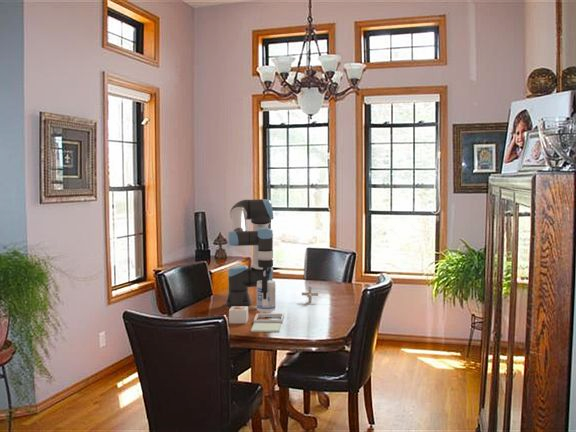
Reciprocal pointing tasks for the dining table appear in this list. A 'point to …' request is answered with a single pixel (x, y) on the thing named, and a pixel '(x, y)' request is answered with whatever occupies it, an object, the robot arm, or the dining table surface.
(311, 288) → the pipe connector
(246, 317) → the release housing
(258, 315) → the frame
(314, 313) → the dining table surface
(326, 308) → the dining table surface
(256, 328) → the mat
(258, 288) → the supplement tub
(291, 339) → the dining table surface
